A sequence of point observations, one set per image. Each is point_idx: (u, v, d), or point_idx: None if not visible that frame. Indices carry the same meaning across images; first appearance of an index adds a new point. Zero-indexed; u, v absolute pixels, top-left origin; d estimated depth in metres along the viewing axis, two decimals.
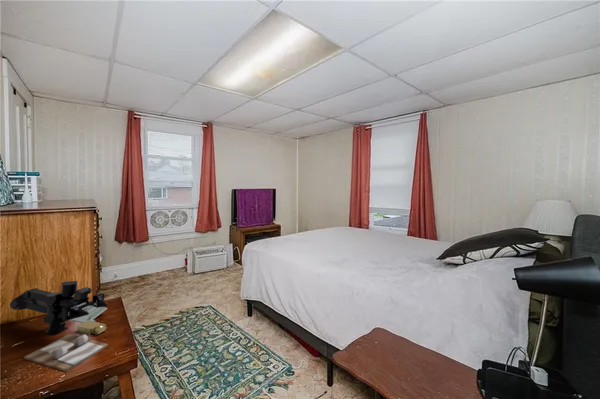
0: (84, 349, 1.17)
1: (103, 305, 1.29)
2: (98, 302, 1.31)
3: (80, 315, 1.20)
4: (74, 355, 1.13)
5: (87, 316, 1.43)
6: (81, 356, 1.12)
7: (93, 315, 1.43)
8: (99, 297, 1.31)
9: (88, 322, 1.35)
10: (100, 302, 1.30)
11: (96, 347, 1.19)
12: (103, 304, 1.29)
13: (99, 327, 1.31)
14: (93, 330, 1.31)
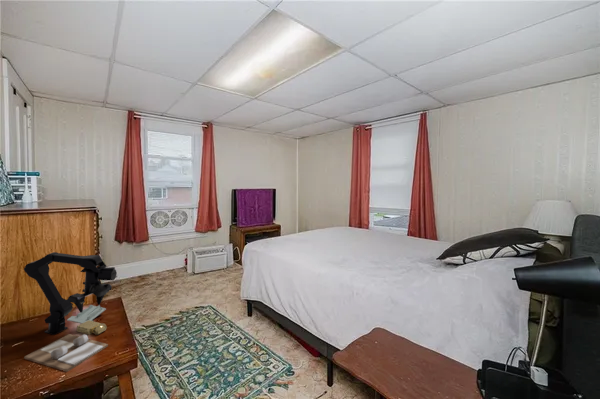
0: (84, 349, 1.17)
1: (98, 301, 1.37)
2: None
3: (77, 306, 1.28)
4: (74, 355, 1.13)
5: (86, 316, 1.43)
6: (81, 356, 1.12)
7: (92, 315, 1.43)
8: None
9: (88, 322, 1.35)
10: (100, 297, 1.37)
11: (96, 347, 1.19)
12: (98, 301, 1.37)
13: (99, 327, 1.31)
14: (93, 330, 1.31)
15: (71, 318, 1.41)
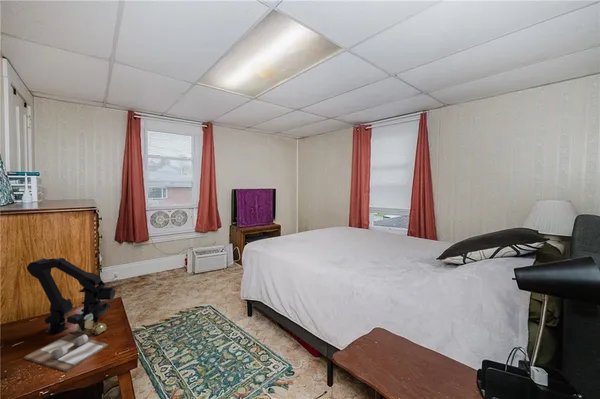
0: (84, 349, 1.17)
1: None
2: None
3: (79, 325, 1.29)
4: (74, 355, 1.13)
5: (85, 317, 1.42)
6: (81, 356, 1.12)
7: (91, 316, 1.42)
8: None
9: (88, 322, 1.35)
10: (96, 317, 1.37)
11: (96, 347, 1.19)
12: (95, 321, 1.36)
13: (99, 327, 1.31)
14: (93, 330, 1.31)
15: None
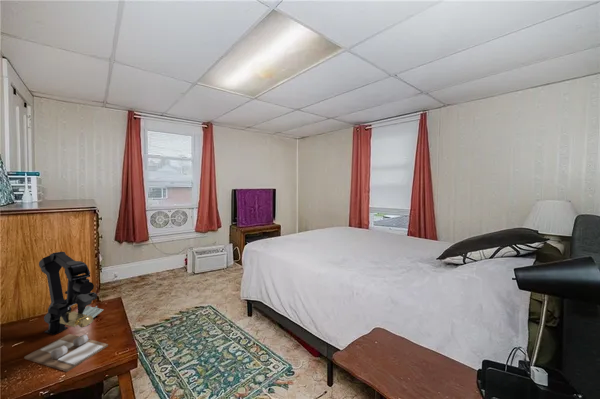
0: (84, 349, 1.17)
1: (79, 312, 1.27)
2: None
3: (62, 316, 1.19)
4: (74, 355, 1.13)
5: None
6: (81, 356, 1.12)
7: None
8: None
9: (73, 313, 1.25)
10: (81, 308, 1.27)
11: (96, 347, 1.19)
12: (80, 312, 1.26)
13: (85, 319, 1.21)
14: (78, 322, 1.21)
15: None
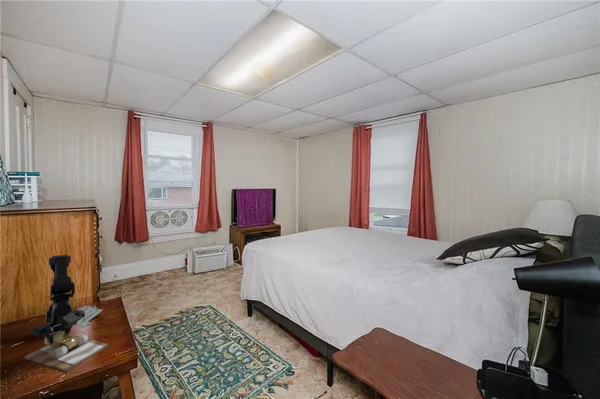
0: (84, 349, 1.17)
1: (65, 332, 1.20)
2: None
3: (46, 337, 1.13)
4: (74, 355, 1.13)
5: (81, 318, 1.41)
6: (81, 356, 1.12)
7: (88, 317, 1.41)
8: None
9: (59, 333, 1.19)
10: None
11: (96, 347, 1.19)
12: (66, 332, 1.20)
13: (70, 342, 1.15)
14: (63, 344, 1.14)
15: None
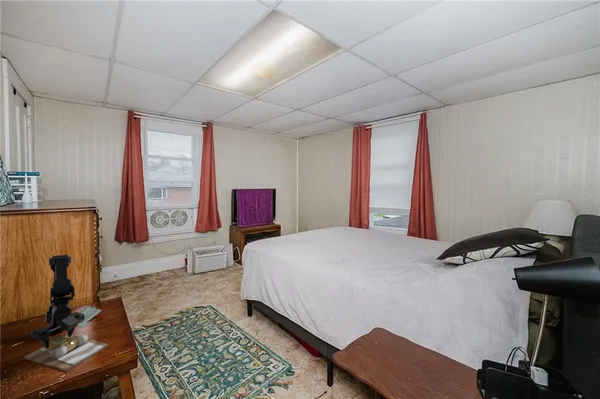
0: (84, 349, 1.17)
1: (68, 333, 1.22)
2: None
3: (42, 342, 1.12)
4: (74, 355, 1.13)
5: None
6: (81, 356, 1.12)
7: (87, 317, 1.40)
8: (76, 324, 1.22)
9: (58, 337, 1.19)
10: (71, 328, 1.22)
11: (96, 347, 1.19)
12: (69, 333, 1.22)
13: (69, 344, 1.15)
14: None
15: None
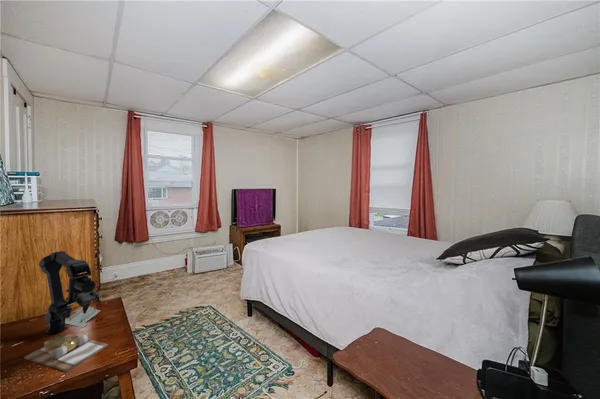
0: (84, 349, 1.17)
1: (83, 309, 1.28)
2: None
3: (59, 316, 1.18)
4: (74, 355, 1.13)
5: (79, 319, 1.40)
6: (81, 356, 1.12)
7: (85, 318, 1.40)
8: (91, 301, 1.28)
9: (58, 337, 1.19)
10: (86, 305, 1.28)
11: (96, 347, 1.19)
12: (84, 309, 1.28)
13: (69, 344, 1.15)
14: None
15: None
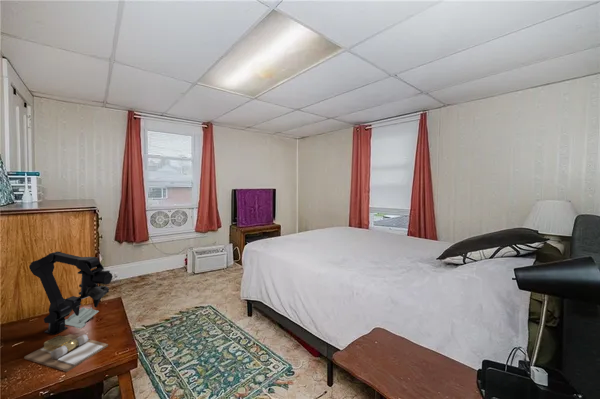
0: (84, 349, 1.17)
1: (94, 303, 1.34)
2: None
3: (73, 310, 1.24)
4: (74, 355, 1.13)
5: (77, 319, 1.39)
6: (81, 356, 1.12)
7: (84, 318, 1.39)
8: None
9: (58, 337, 1.19)
10: (97, 299, 1.34)
11: (96, 347, 1.19)
12: (95, 304, 1.34)
13: (69, 344, 1.15)
14: None
15: None
